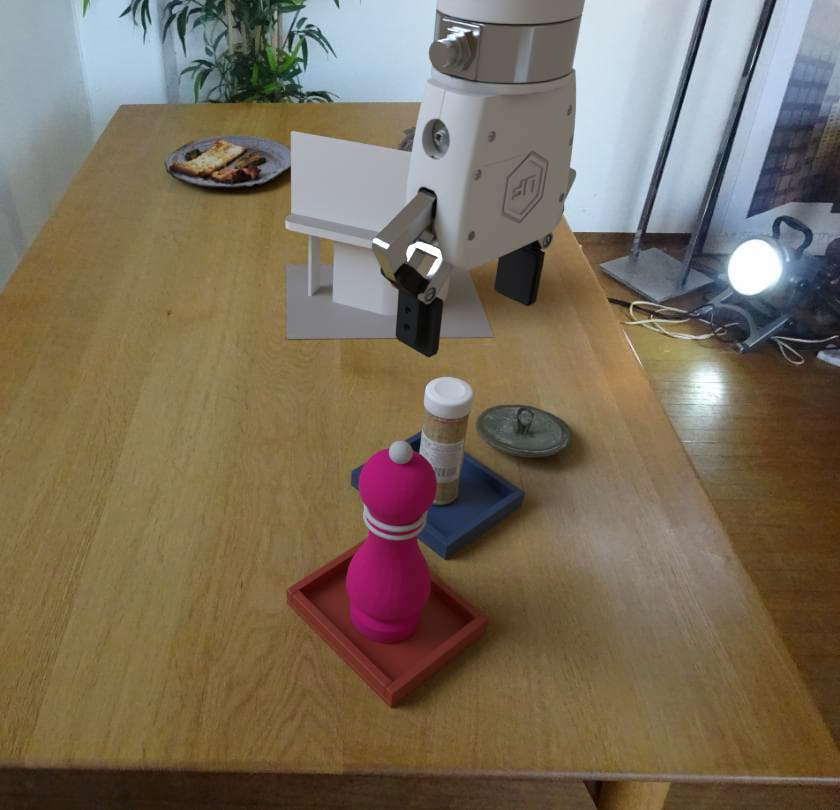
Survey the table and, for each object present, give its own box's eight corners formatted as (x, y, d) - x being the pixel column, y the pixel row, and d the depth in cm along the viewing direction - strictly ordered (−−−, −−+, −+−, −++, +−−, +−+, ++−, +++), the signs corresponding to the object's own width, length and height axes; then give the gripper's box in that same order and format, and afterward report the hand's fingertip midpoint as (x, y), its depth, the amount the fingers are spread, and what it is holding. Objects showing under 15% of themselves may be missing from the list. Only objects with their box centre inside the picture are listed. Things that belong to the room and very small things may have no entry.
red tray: (485, 632, 71) (489, 618, 70) (390, 708, 65) (392, 694, 64) (379, 543, 79) (380, 529, 78) (286, 603, 74) (286, 588, 72)
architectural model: (466, 263, 125) (487, 110, 111) (494, 337, 109) (523, 168, 94) (286, 264, 125) (284, 111, 111) (286, 339, 108) (284, 170, 94)
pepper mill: (337, 639, 70) (344, 467, 58) (352, 576, 75) (362, 407, 63) (420, 656, 68) (446, 483, 56) (430, 590, 74) (455, 420, 62)
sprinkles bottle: (460, 481, 85) (476, 378, 77) (455, 511, 82) (472, 407, 74) (417, 474, 86) (428, 371, 78) (410, 503, 83) (422, 399, 75)
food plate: (243, 206, 142) (242, 187, 140) (141, 180, 152) (139, 161, 150) (315, 161, 159) (315, 143, 157) (219, 139, 169) (218, 123, 167)
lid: (503, 487, 88) (519, 461, 84) (455, 419, 93) (468, 391, 89) (577, 462, 91) (596, 435, 88) (528, 398, 97) (543, 370, 93)
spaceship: (394, 166, 136) (440, 149, 134) (389, 120, 166) (426, 105, 164) (408, 209, 140) (453, 193, 138) (401, 156, 169) (438, 142, 167)
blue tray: (522, 506, 83) (525, 492, 82) (445, 560, 78) (447, 546, 76) (426, 440, 92) (428, 426, 90) (350, 484, 86) (351, 470, 85)
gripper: (445, 93, 37) (417, 396, 47) (655, 34, 45) (592, 301, 56) (336, 62, 41) (332, 343, 52) (545, 13, 50) (506, 263, 60)
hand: (467, 321), depth 54 cm, fingers open, 9 cm apart
